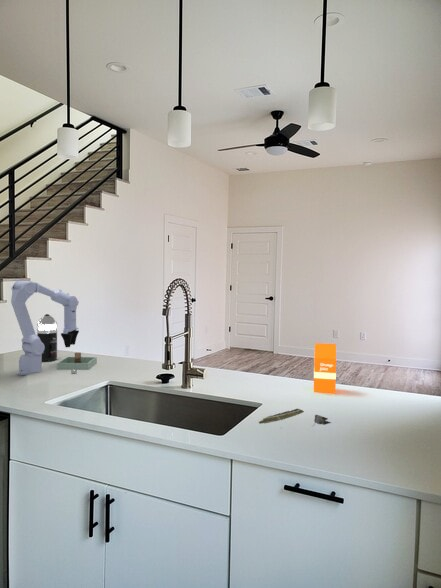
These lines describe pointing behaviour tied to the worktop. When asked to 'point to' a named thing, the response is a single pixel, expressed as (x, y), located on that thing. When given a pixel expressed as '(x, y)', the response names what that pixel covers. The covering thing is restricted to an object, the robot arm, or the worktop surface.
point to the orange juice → (325, 368)
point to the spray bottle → (48, 337)
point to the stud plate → (73, 371)
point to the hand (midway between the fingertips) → (70, 345)
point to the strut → (78, 358)
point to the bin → (70, 363)
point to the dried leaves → (288, 414)
